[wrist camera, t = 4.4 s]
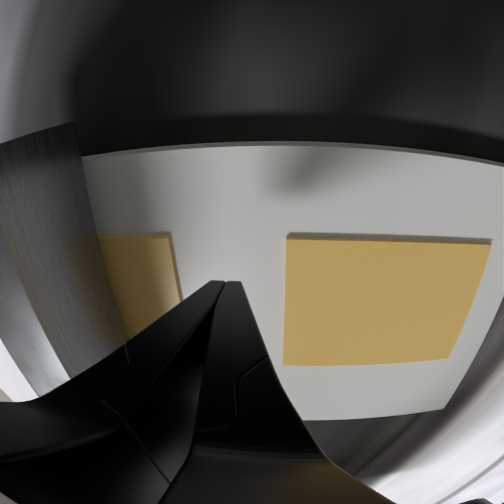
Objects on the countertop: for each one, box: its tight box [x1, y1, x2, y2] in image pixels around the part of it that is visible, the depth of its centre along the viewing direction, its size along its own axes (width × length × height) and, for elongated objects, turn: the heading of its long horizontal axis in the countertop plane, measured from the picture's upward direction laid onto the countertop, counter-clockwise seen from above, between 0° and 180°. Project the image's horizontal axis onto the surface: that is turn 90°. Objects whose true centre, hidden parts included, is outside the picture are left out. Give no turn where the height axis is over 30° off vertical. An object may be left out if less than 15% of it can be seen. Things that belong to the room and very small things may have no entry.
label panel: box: [82, 141, 504, 420], centre depth 13 cm, size 15×24×2 cm, turn 92°
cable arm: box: [0, 121, 130, 397], centre depth 11 cm, size 17×4×4 cm, turn 2°
